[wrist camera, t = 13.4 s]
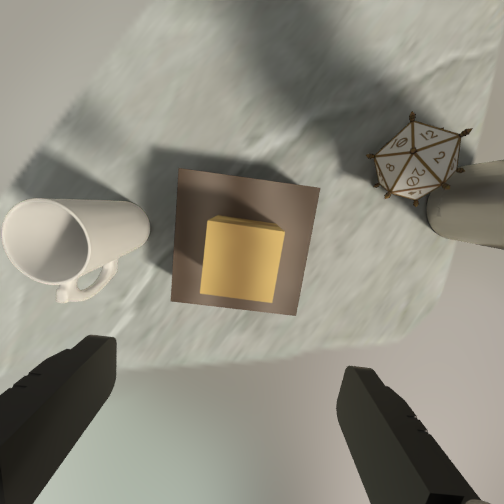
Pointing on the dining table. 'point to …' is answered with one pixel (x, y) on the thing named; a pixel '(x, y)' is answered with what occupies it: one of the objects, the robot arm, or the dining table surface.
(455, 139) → the game die
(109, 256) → the mug
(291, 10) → the dining table surface
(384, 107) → the dining table surface
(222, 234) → the ochre block
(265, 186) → the riser
